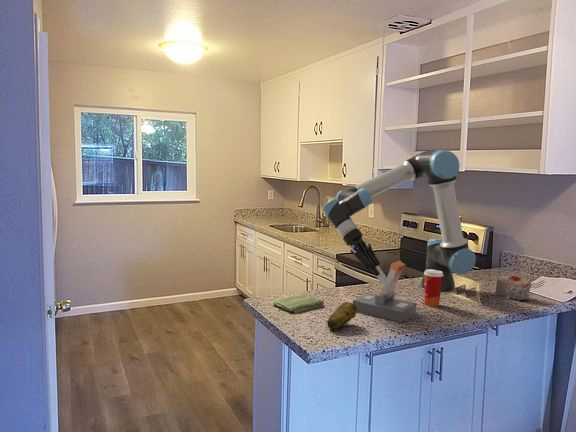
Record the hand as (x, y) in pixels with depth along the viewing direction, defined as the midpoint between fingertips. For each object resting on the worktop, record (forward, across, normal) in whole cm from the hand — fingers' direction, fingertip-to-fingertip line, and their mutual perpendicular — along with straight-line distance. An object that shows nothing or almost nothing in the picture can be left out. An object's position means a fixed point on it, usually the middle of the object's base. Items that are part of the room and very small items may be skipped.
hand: (384, 281), depth 175 cm
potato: (+6, +24, -12) cm, 28 cm away
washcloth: (-11, +16, -29) cm, 35 cm away
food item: (+31, -59, +16) cm, 68 cm away
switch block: (+9, -1, -8) cm, 12 cm away
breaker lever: (+5, -1, -6) cm, 8 cm away
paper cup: (+16, -23, -1) cm, 28 cm away
